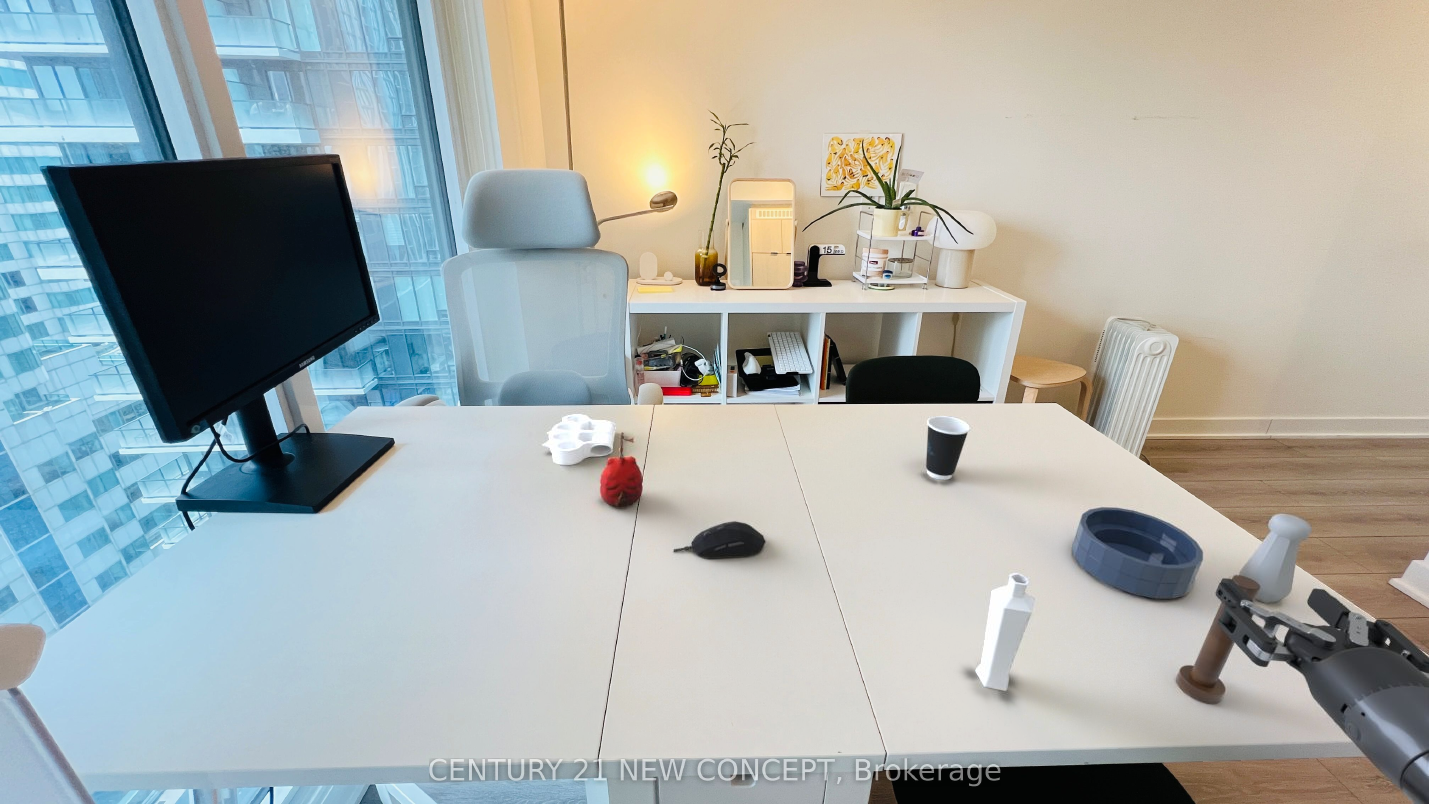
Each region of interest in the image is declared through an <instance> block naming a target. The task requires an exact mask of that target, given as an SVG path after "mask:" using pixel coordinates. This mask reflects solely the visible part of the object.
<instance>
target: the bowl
mask: <svg viewBox="0 0 1429 804" xmlns="http://www.w3.org/2000/svg"><path fill="white" fill-rule="evenodd" d="M1071 551H1072V554H1073V557H1074V559H1075V560H1076V561H1077V562H1078V563H1079V564H1080V566H1081V567H1082V568H1083V569H1084V570H1085V571H1087V572H1088V573H1089V574H1091V575H1092V576H1094V577H1095V578H1096V579H1098V580H1100V581H1102V582H1104V583H1106V584H1108V585H1110V586H1111V587H1113V588H1116V589H1119V590H1120V591H1121V590H1122V591H1124V592H1126V593H1130V594H1133V595H1137V596H1141V597H1147V598H1150V599H1169V600H1170V599H1176V598H1180V597H1183V596H1185V595H1186V594H1187V593H1189V592H1190V590H1191V589H1192V588H1193V585H1194V583H1195V580H1196V578H1197V575H1198V573H1199V571H1200V568H1201V566H1202V563H1203V561H1204V551H1203V549H1202V548H1201V545H1200V544H1199V543H1198V542H1197V541H1196V540H1195V539H1194V538H1193V537H1191V536H1190V535H1189V534H1188V533H1187V532H1186V531H1184V530H1182V529H1181V528H1179V527H1177V526H1175V524H1172V523H1170V522H1168V521H1165V520H1163V519H1161V518H1159V517H1156V516H1153V515H1150V514H1147V513H1144V512H1140V511H1137V510H1134V509H1127V508H1122V507H1110V506H1109V507H1108V506H1101V507H1100V506H1099V507H1095V508H1090V509H1088V510H1086V511H1084V512H1083V513H1082V514H1081V517H1080V520H1079V522H1078V526H1077V530H1076V532H1075V536H1074V540H1073V543H1072V545H1071Z"/></svg>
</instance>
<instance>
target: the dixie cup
mask: <svg viewBox="0 0 1429 804" xmlns="http://www.w3.org/2000/svg"><path fill="white" fill-rule="evenodd" d="M926 424H927V441H926V460H925V468H926V474H927V475H928V476H929V477H931V478H933V479H936V480H942V481H945V480H946V481H947V480H950V479H951V478H952V477H953V475H954V474H955V472H956V469H957V466H958V463H959V460H960V457H961V455H962V451H963V449H964V445H965V442H966V439H967V436H968V433H969V432H970V431H971V425H970V424H969V423H967V422H966V421H965V420H962V419H960V418H957V417H952V416H947V415H936V416H931V417H929V418H928V419H927V420H926Z"/></svg>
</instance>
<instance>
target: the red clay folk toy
mask: <svg viewBox="0 0 1429 804" xmlns="http://www.w3.org/2000/svg"><path fill="white" fill-rule="evenodd" d="M616 434H617V436H618V437H619V445H620V447H619V448H618V452H619V456H614V457H613V456H612V457H609V458H608V459H607V461H606V465H605V467H604V469H603V470H602V471H601V475H600V480H599V483H600V486H599V493H600V496H601V499H602V500H603V502H605V503H606V504H607V505H609V506H611V507H613V508H618V509H624V508H628V507H630V506H633V505H635V504H636V503H637V502H638V501H639V500H640V499H641V498H642V494H643V490H644V489H643V488H644V486H643V474H642V471H641V469H640V467H639V465H638V464H637V459H636V457H634V456H633V455H630V456H624V454H623V453H624V447H623V446H624V442H630V443H635V441H634V439H635V438H634V437H631V438H625V436H624V432H620V434H619V433H618V432H617V433H616Z"/></svg>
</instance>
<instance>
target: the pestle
mask: <svg viewBox="0 0 1429 804" xmlns="http://www.w3.org/2000/svg"><path fill="white" fill-rule="evenodd" d="M1231 579H1232V580H1233V581H1234V582H1235V583H1236V584H1237V585H1238V586H1239V587H1240V588H1241V589H1242V590H1243V591H1244V592H1245V593H1246V594H1247V595H1248V596H1249V597H1250V598H1251V599H1252V600H1253V603H1255V600H1256V599H1255V598H1256V596H1257V594H1258V592H1259V590H1260V585H1259V584H1258V583H1257V582H1256V581H1254V580H1252V579H1250V578H1248V577H1245V576H1240V575H1239V574H1236V575H1233V576H1232V577H1231ZM1220 602H1221V601H1220ZM1223 608H1224V604H1223V603H1222V602H1221V603H1220V605H1219V607H1218V609H1217V612H1216V614H1215V617H1214V618H1213V621H1212V623H1211V625H1210V628H1209V630H1208V632H1207V635H1206V637H1205V639H1204V641H1203V644H1202V646H1201V648H1200V650H1199V653H1198V655H1197V658H1196V659H1195V662H1194V664H1193V665H1192V664H1187V665H1186V664H1185V665H1183V666H1181V667H1180V668H1179V671H1178V673H1177V676H1176V679H1175V681H1176V683H1177V686H1178V687H1179V688H1180V689H1181V690H1182V691H1183V693H1185V694H1186V695H1188V696H1189V697H1191V698H1192V699H1194V700H1196V701H1199V702H1200V703H1205V704H1211V705H1214V704H1215V705H1216V704H1218V703H1220V702H1221V701H1222V699H1223V697H1224V695H1225V693H1226V686H1225V683H1224V682H1223V681H1222V680H1221V679H1220V675H1221V674H1222V672H1223V669H1224V667H1225V665H1226V663H1227V661H1228V658H1229V657H1230V654H1231V652H1232V650H1233V648H1234V645H1236V643H1235V642H1234V641H1233V640H1232V639H1231V638H1230V637H1229V636H1228V635H1227V634H1226V633H1225V631H1224V630H1223V629H1222V628H1221V627H1220V626H1219V625H1218V624H1217V620H1218V618H1219V617H1220V615H1221V612H1222V610H1223ZM1236 626H1237V625H1236Z"/></svg>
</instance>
